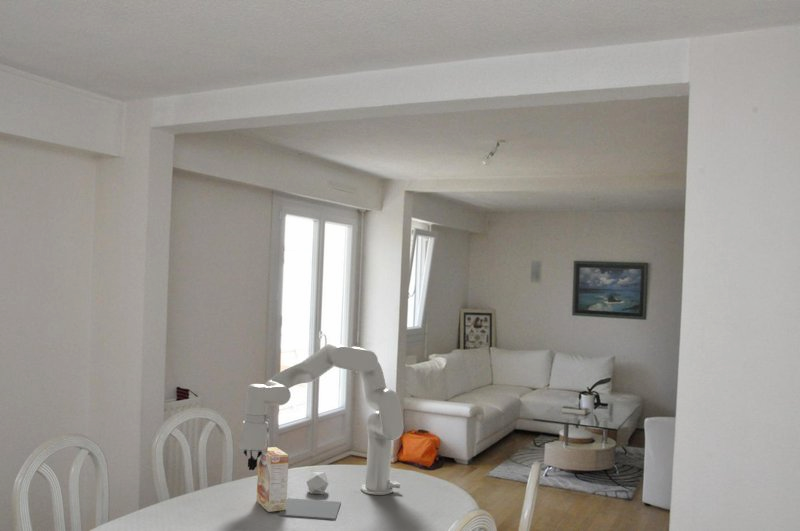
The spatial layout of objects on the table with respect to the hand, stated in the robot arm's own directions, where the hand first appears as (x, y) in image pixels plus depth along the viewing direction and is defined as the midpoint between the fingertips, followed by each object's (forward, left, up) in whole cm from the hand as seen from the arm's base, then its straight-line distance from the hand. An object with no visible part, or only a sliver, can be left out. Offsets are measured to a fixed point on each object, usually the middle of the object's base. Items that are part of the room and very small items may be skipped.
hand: (252, 469), depth 256 cm
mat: (-22, 0, -13) cm, 26 cm away
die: (-22, -20, -13) cm, 32 cm away
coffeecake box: (-8, 0, -13) cm, 15 cm away
